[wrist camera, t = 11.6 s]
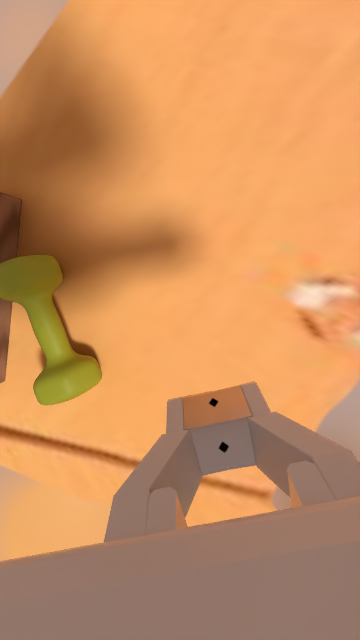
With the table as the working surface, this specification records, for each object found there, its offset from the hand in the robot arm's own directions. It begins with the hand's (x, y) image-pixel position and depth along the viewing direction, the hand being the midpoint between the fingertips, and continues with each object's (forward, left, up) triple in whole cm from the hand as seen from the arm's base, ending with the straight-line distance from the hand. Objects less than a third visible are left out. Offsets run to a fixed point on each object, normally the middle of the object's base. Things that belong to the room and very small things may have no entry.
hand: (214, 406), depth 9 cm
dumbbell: (+6, -19, -23) cm, 30 cm away
